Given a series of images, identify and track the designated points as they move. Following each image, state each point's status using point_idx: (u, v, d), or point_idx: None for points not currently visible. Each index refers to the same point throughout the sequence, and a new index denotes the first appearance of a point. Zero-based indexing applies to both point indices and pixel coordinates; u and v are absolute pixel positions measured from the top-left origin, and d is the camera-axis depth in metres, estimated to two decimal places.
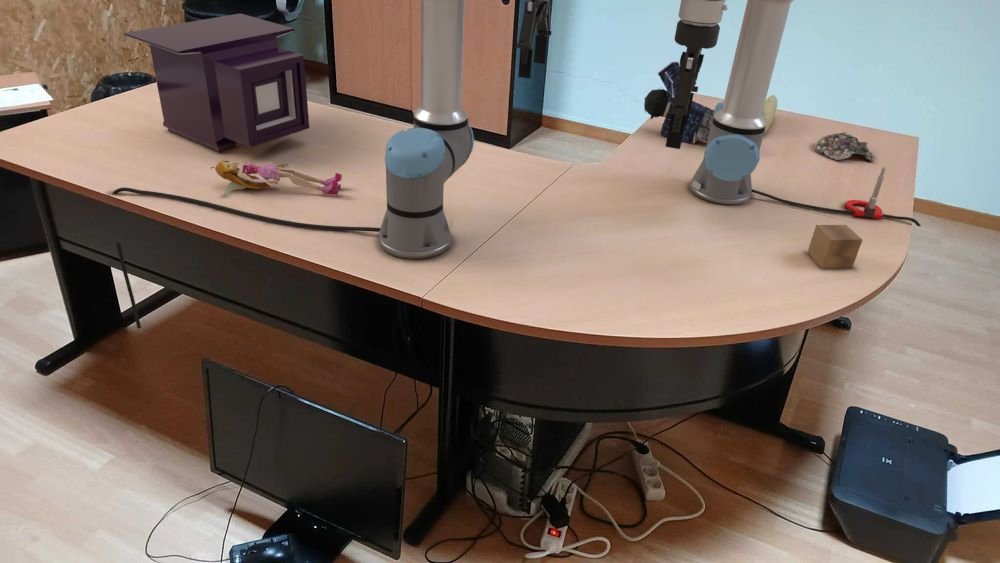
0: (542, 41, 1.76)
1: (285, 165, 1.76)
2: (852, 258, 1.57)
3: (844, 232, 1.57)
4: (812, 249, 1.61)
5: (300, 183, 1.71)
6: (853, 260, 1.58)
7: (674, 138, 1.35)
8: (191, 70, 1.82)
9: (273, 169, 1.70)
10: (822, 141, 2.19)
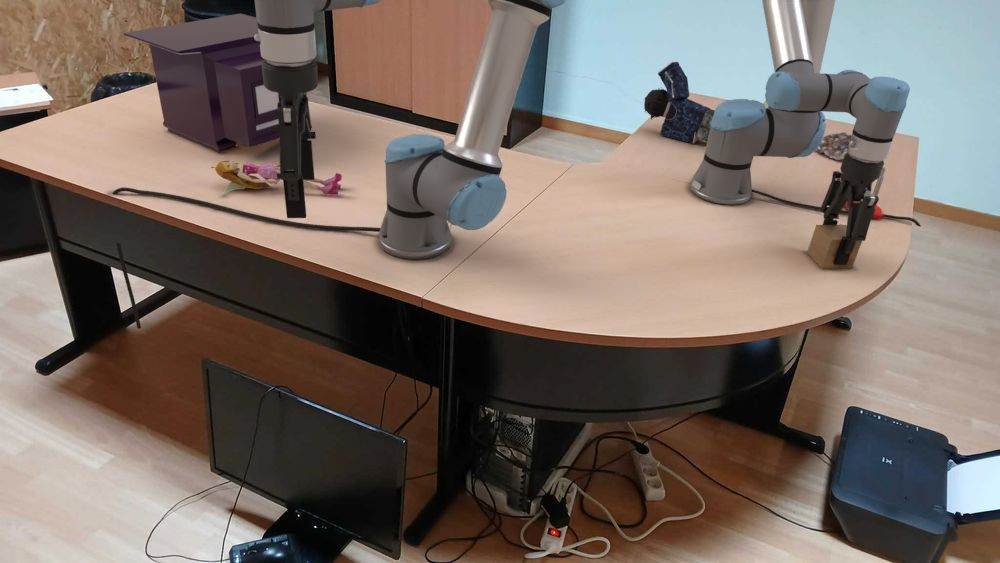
0: None
1: None
2: (852, 258, 1.57)
3: (844, 232, 1.57)
4: (812, 249, 1.61)
5: None
6: (853, 260, 1.58)
7: None
8: (191, 70, 1.82)
9: (273, 169, 1.70)
10: (822, 141, 2.19)
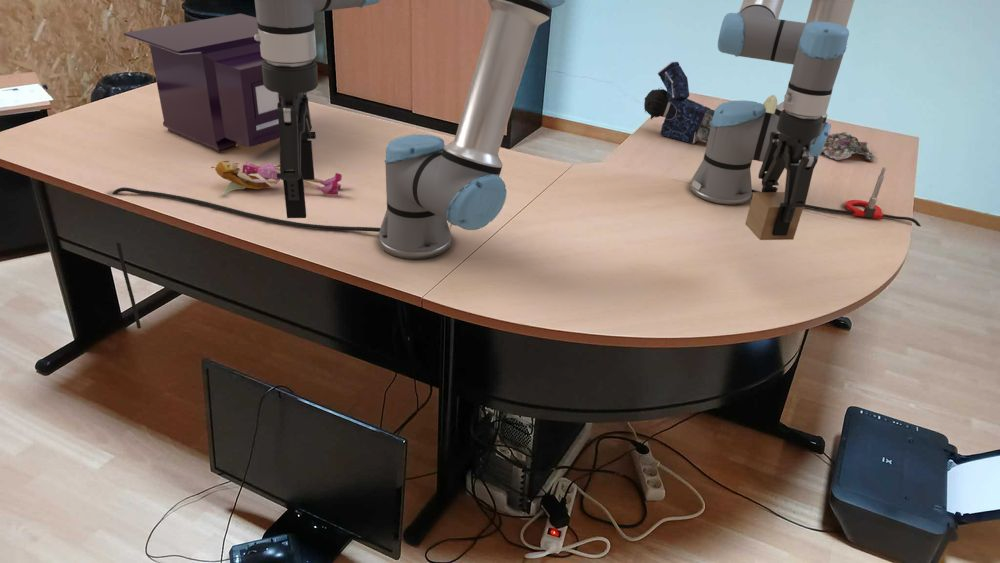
0: None
1: None
2: (793, 228, 1.42)
3: None
4: (750, 220, 1.46)
5: None
6: (794, 230, 1.42)
7: None
8: (191, 70, 1.82)
9: (273, 169, 1.70)
10: None
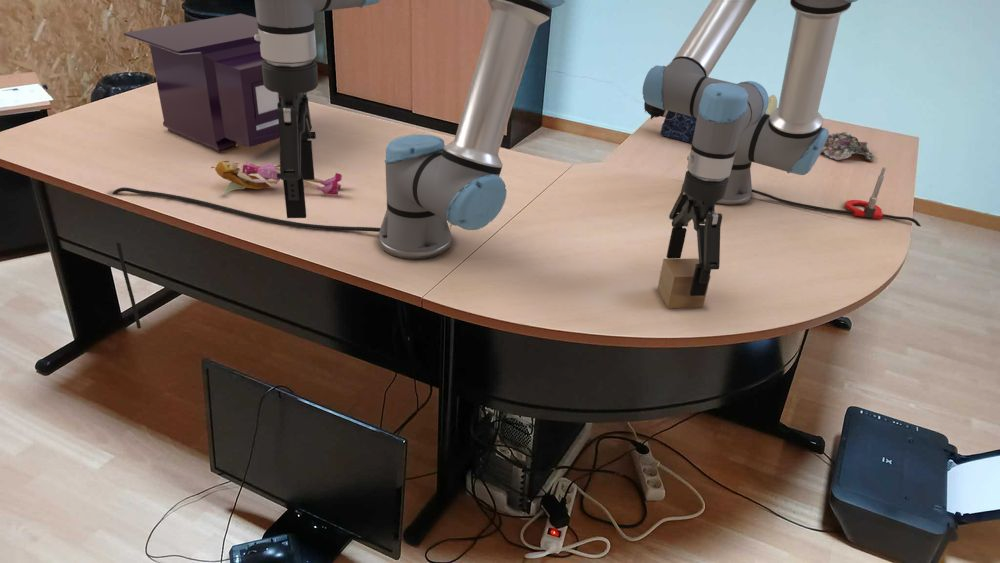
0: (680, 235, 1.44)
1: None
2: (701, 296, 1.40)
3: (692, 267, 1.40)
4: (661, 286, 1.44)
5: None
6: (703, 299, 1.41)
7: None
8: (191, 70, 1.82)
9: (273, 169, 1.70)
10: None
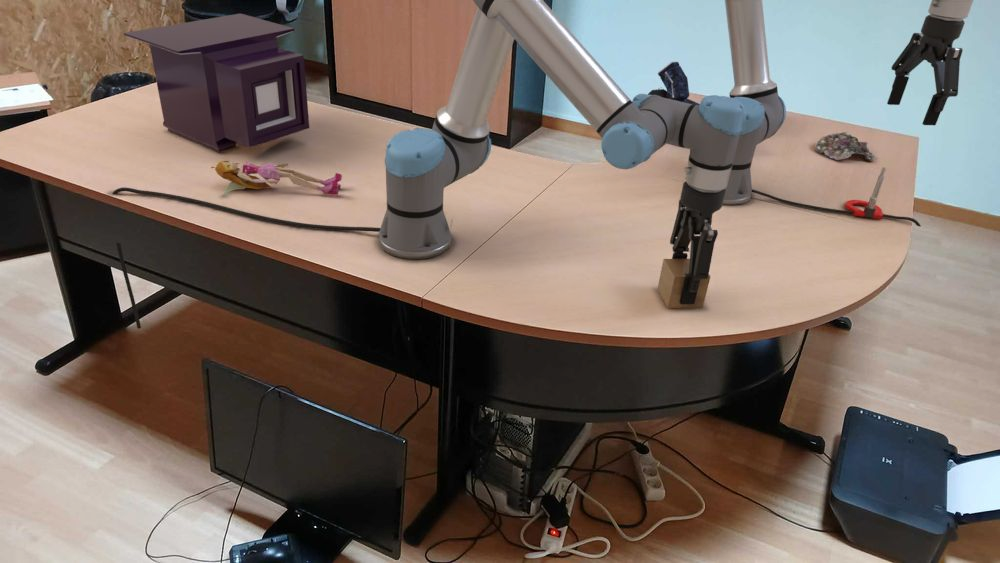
0: (903, 82, 1.69)
1: (285, 165, 1.76)
2: (701, 296, 1.40)
3: None
4: (661, 286, 1.44)
5: (300, 183, 1.71)
6: (703, 299, 1.41)
7: None
8: (191, 70, 1.82)
9: (273, 169, 1.70)
10: (822, 141, 2.19)
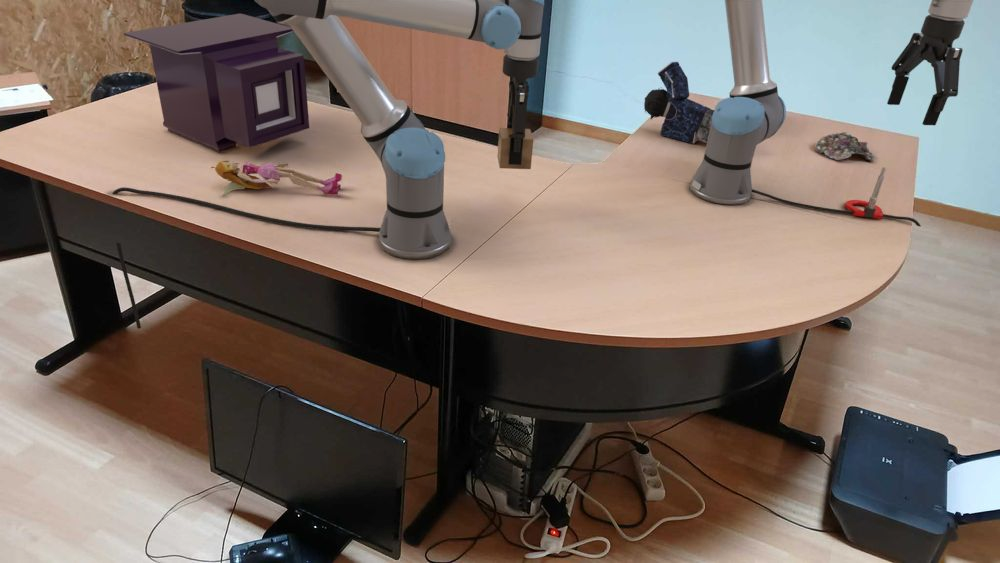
0: (903, 82, 1.69)
1: (285, 165, 1.76)
2: (528, 158, 1.65)
3: None
4: (498, 152, 1.69)
5: (300, 183, 1.71)
6: (529, 161, 1.65)
7: None
8: (191, 70, 1.82)
9: (273, 169, 1.70)
10: (822, 141, 2.19)
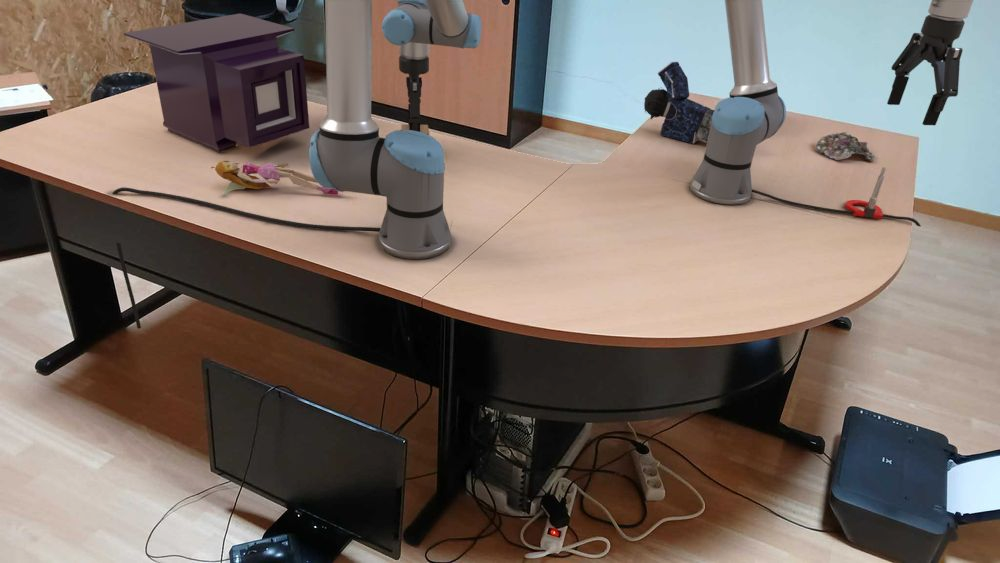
0: (903, 82, 1.69)
1: (285, 165, 1.76)
2: None
3: None
4: None
5: (300, 183, 1.71)
6: None
7: None
8: (191, 70, 1.82)
9: (273, 169, 1.70)
10: (822, 141, 2.19)
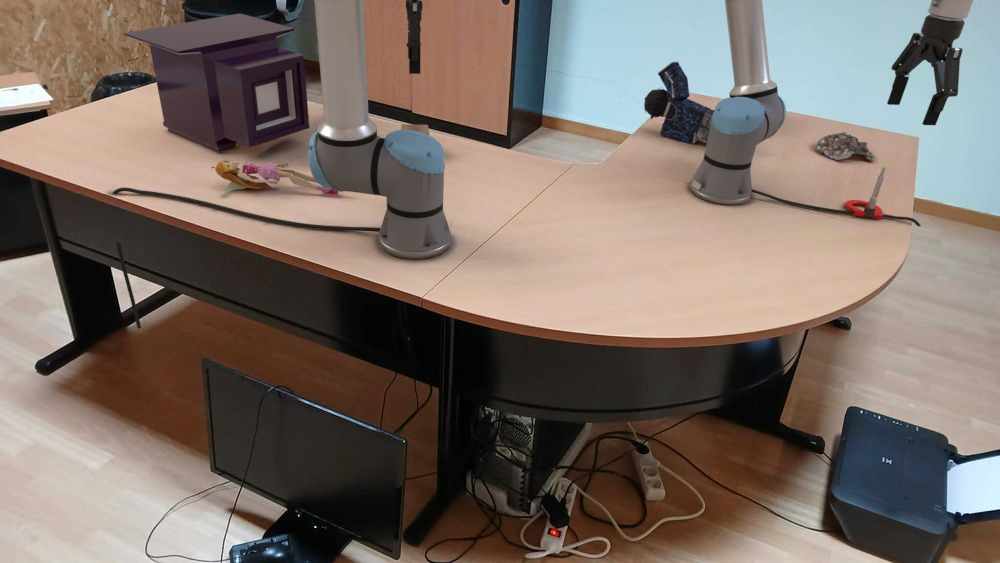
0: (903, 82, 1.69)
1: (285, 165, 1.76)
2: None
3: (419, 129, 1.94)
4: None
5: (300, 183, 1.71)
6: None
7: None
8: (191, 70, 1.82)
9: (273, 169, 1.70)
10: (822, 141, 2.19)
